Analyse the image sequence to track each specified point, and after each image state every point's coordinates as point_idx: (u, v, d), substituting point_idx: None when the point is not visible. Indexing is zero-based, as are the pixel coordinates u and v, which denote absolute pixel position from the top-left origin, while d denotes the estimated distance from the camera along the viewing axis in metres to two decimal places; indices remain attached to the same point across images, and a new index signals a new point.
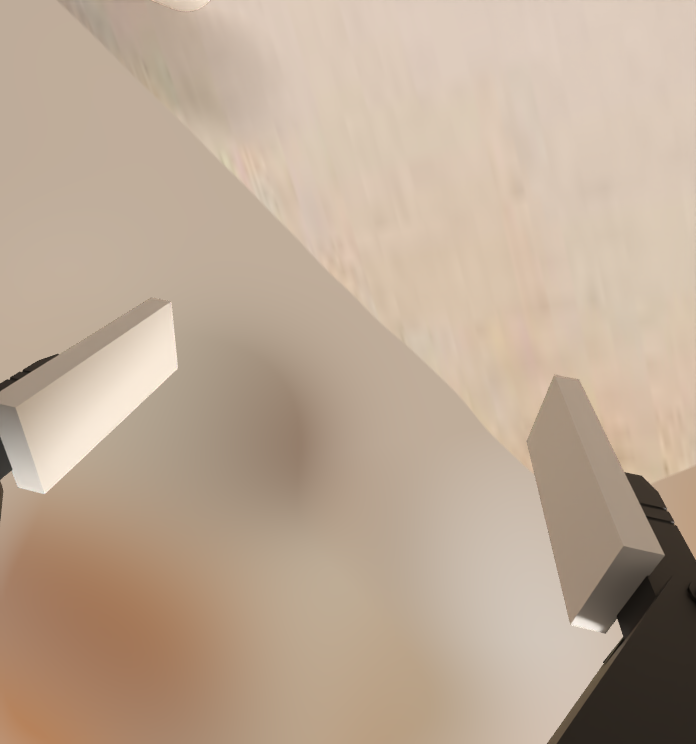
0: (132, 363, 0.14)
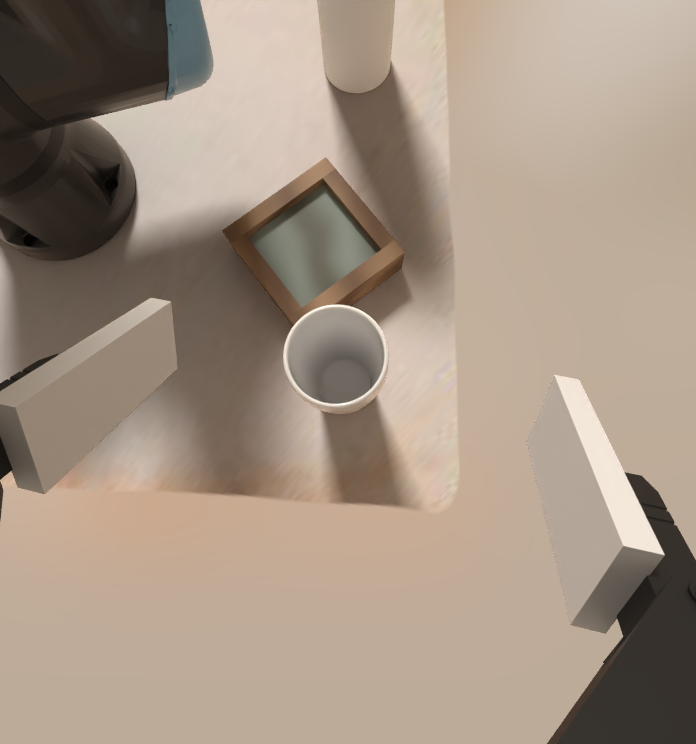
0: (132, 363, 0.14)
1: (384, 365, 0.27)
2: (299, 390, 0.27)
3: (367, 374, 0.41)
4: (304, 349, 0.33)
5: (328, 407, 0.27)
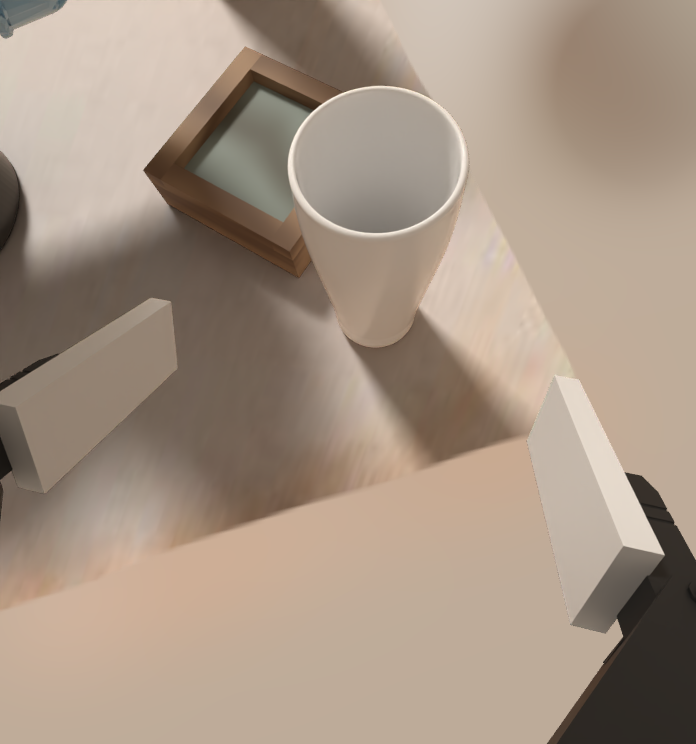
0: (132, 363, 0.14)
1: (462, 144, 0.16)
2: (341, 228, 0.15)
3: None
4: None
5: (400, 238, 0.15)
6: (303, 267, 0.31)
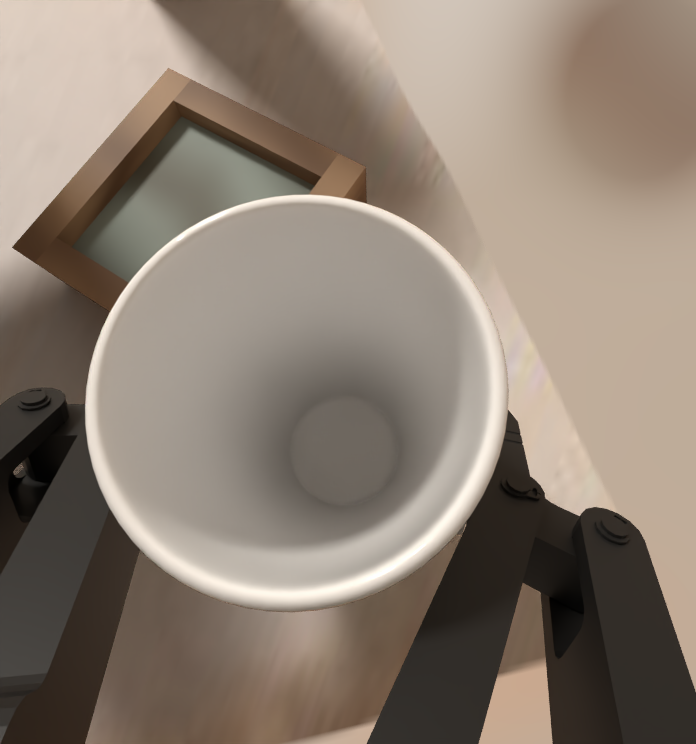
0: None
1: (491, 347, 0.07)
2: (191, 576, 0.06)
3: (381, 415, 0.20)
4: (215, 407, 0.12)
5: (338, 602, 0.06)
6: None
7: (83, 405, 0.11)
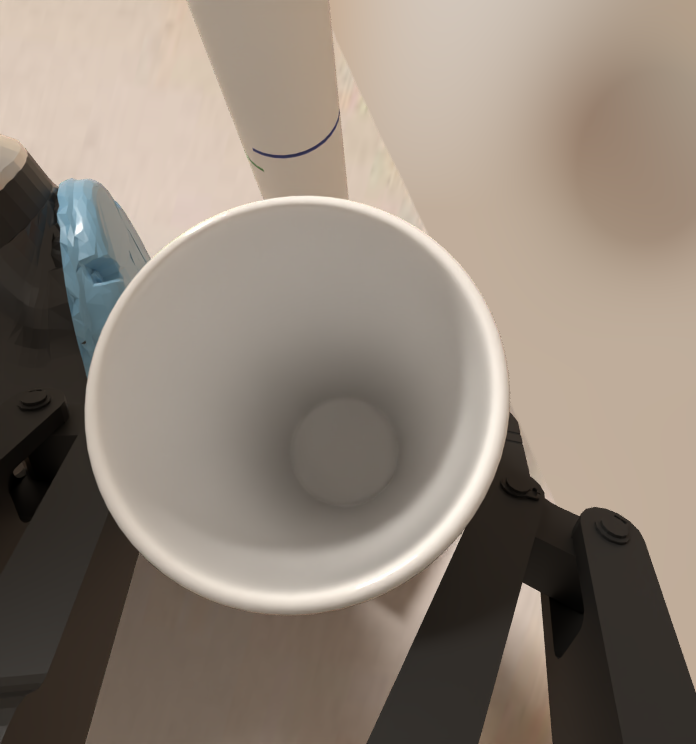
0: None
1: (492, 349, 0.07)
2: (191, 579, 0.06)
3: (382, 415, 0.20)
4: (215, 408, 0.12)
5: (338, 606, 0.06)
6: None
7: (83, 405, 0.11)
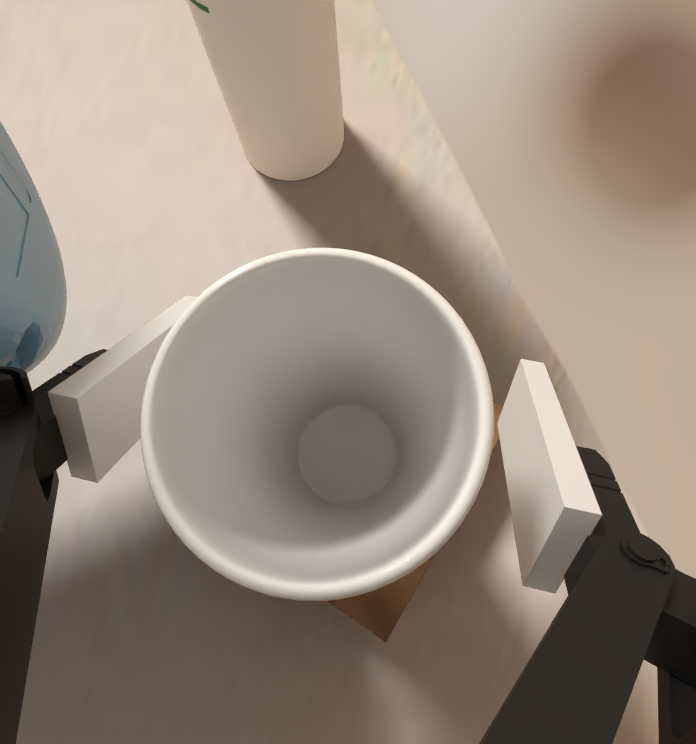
0: None
1: (479, 379, 0.08)
2: (236, 573, 0.08)
3: (383, 419, 0.21)
4: (236, 421, 0.13)
5: (356, 592, 0.08)
6: None
7: None
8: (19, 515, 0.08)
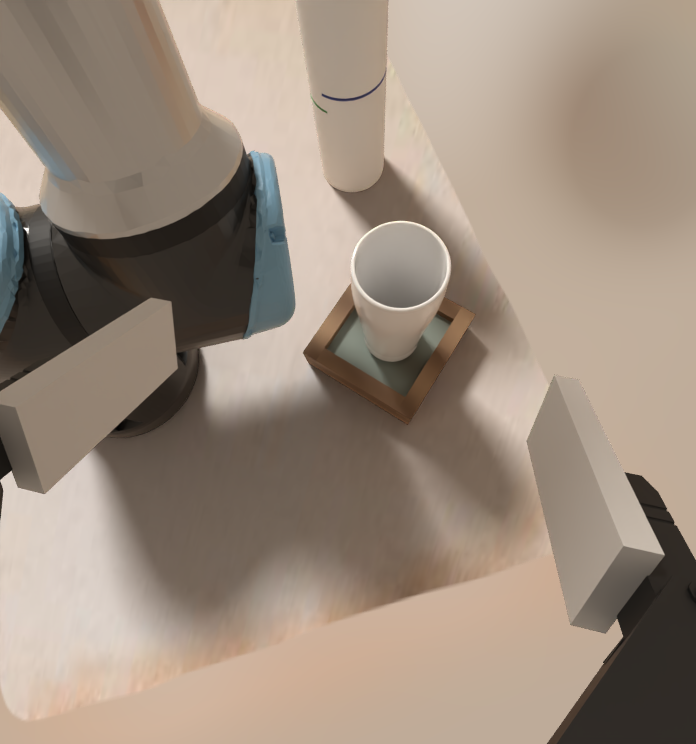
0: (132, 363, 0.14)
1: (447, 257, 0.29)
2: (382, 305, 0.29)
3: None
4: None
5: (413, 310, 0.29)
6: None
7: None
8: None
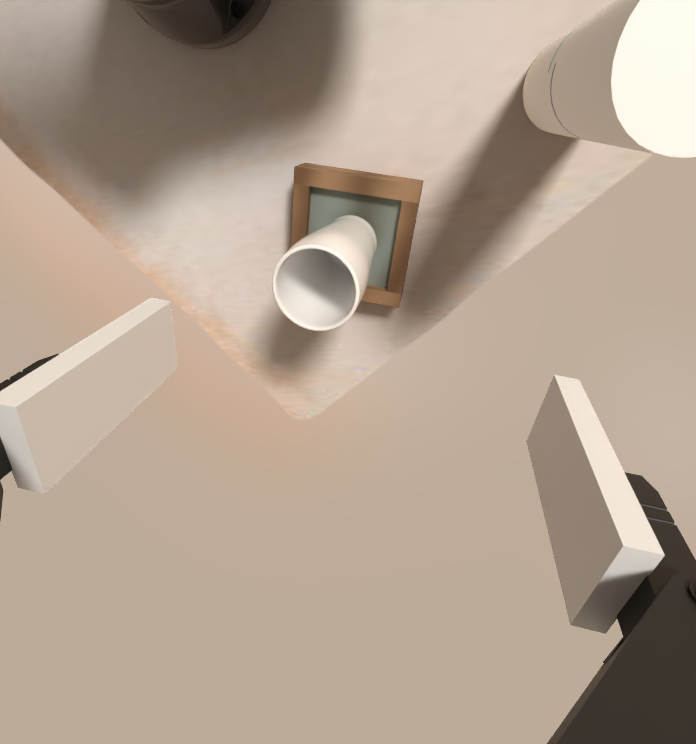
0: (132, 363, 0.14)
1: (338, 324, 0.34)
2: (274, 289, 0.33)
3: None
4: None
5: None
6: None
7: None
8: None
